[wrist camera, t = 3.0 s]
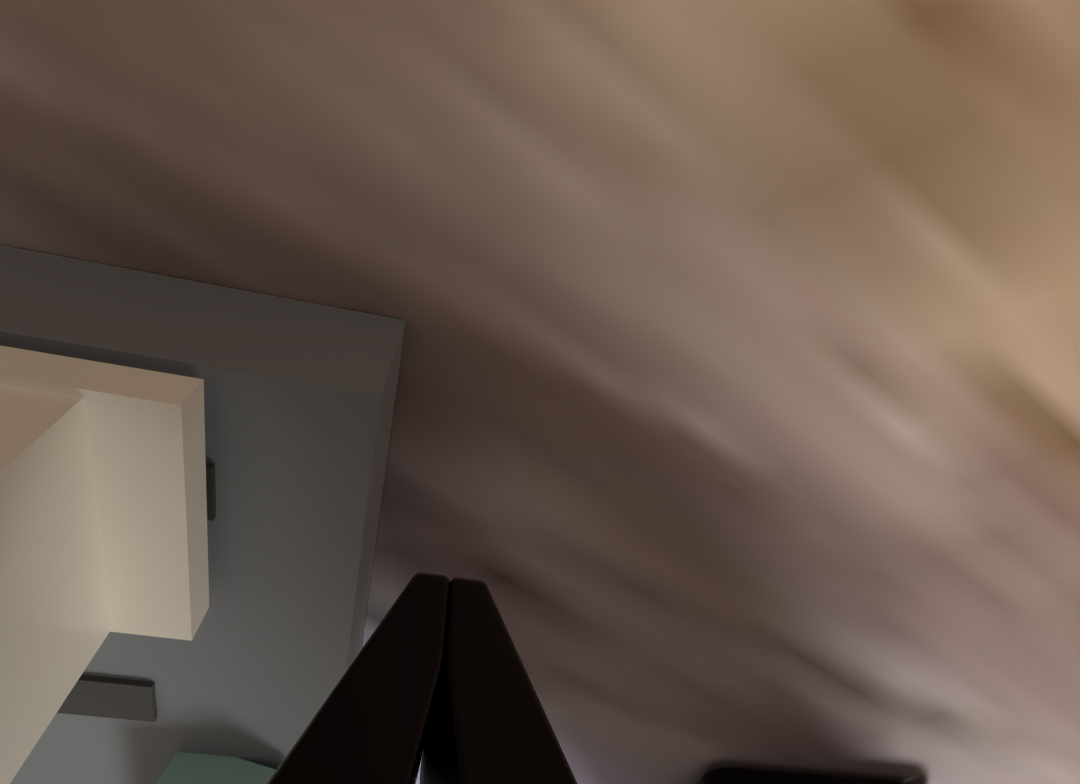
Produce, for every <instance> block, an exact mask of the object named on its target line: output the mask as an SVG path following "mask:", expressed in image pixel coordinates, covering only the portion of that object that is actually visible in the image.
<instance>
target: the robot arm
mask: <svg viewBox="0 0 1080 784" xmlns="http://www.w3.org/2000/svg"><path fill="white" fill-rule="evenodd" d="M421 757H422V760H421ZM420 762H421V770H420V784H577V782H576V780H575V778H574V775H573V773H572V771H571V769H570V767H569V764H568V762H567V760H566V758H565V756H564V753H563V751H562V749H561V747H560V745H559V743H558V740H557V738H556V736H555V734H554V732H553V729H552V727H551V725H550V723H549V721H548V718H547V716H546V714H545V712H544V710H543V707H542V705H541V703H540V701H539V699H538V697H537V694H536V692H535V690H534V688H533V686H532V683H531V681H530V679H529V677H528V675H527V672H526V670H525V668H524V666H523V664H522V661H521V659H520V657H519V655H518V653H517V651H516V648H515V646H514V644H513V642H512V640H511V637H510V635H509V633H508V631H507V629H506V626H505V624H504V622H503V620H502V618H501V615H500V613H499V611H498V609H497V607H496V605H495V602H494V600H493V598H492V596H491V594H490V591H489V589H488V587H487V585H486V584H485V583H484V582H483V581H481V580H474V579H467V578H460V577H455V578H453V579H452V580H451V581H450V580H449V578H448V577H447V576H445V575H437V574H430V573H422V572H419V573H417V574H416V575H415V576H414V577H413V578H412V579H411V581H410V582H409V583H408V585H407V586H406V588H405V589H404V590H403V592H402V593H401V595H400V596H399V598H398V599H397V600H396V602H395V603H394V605H393V606H392V607H391V609H390V610H389V612H388V613H387V614H386V616H385V617H384V619H383V620H382V622H381V623H380V624H379V626H378V627H377V629H376V630H375V631H374V633H373V634H372V636H371V637H370V638H369V640H368V641H367V643H366V644H365V646H364V647H363V648H362V650H361V651H360V653H359V654H358V655H357V657H356V658H355V660H354V661H353V662H352V664H351V665H350V667H349V668H348V670H347V671H346V672H345V674H344V675H343V677H342V678H341V679H340V681H339V682H338V684H337V685H336V686H335V688H334V689H333V691H332V692H331V694H330V695H329V696H328V698H327V699H326V701H325V702H324V703H323V705H322V706H321V708H320V709H319V710H318V712H317V713H316V715H315V716H314V718H313V719H312V720H311V722H310V723H309V725H308V726H307V727H306V729H305V730H304V732H303V733H302V734H301V736H300V737H299V739H298V740H297V741H296V743H295V744H294V746H293V747H292V749H291V750H290V751H289V753H288V754H287V756H286V757H285V758H284V760H283V761H282V763H281V764H280V765H279V767H278V768H277V770H276V771H275V773H274V774H273V775H272V777H271V778H270V780H269V781H268V782H267V784H415V783H416V779H417V774H418V770H419V766H420ZM699 784H893V783H882V782H872V781H862V780H851V779H841V778H830V777H820V776H810V775H799V774H789V773H778V772H768V771H758V770H747V769H737V768H718V769H715V770H712V771H710V772H708V773H707V774H706V775H705V776H704V777H703V778H702V780H701V782H700V783H699Z"/></svg>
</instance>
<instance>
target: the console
mask: <svg viewBox="0 0 1080 784" xmlns="http://www.w3.org/2000/svg"><path fill="white" fill-rule="evenodd" d="M405 326H406V320H401V319H396V318H391V317H385V316H380V315H375V314H369V313H364V312H358V311H353V310H348V309H342V308H337V307H332V306H326V305H321V304H316V303H310V302H305V301H299V300H294V299H289V298H283V297H278V296H273V295H267V294H262V293H256V292H251V291H246V290H240V289H235V288H230V287H224V286H219V285H213V284H208V283H203V282H197V281H192V280H187V279H181V278H176V277H170V276H165V275H160V274H154V273H149V272H144V271H138V270H133V269H127V268H122V267H117V266H111V265H106V264H101V263H95V262H90V261H84V260H79V259H74V258H68V257H63V256H58V255H52V254H47V253H41V252H36V251H31V250H25V249H20V248H15V247H9V246H4V245H0V345H1V346H7V347H13V348H19V349H25V350H31V351H37V352H43V353H49V354H55V355H61V356H67V357H73V358H79V359H85V360H91V361H97V362H103V363H109V364H115V365H121V366H127V367H133V368H139V369H145V370H151V371H157V372H163V373H169V374H175V375H181V376H187V377H193V378H199V379H204V416H205V456H206V496H207V536H208V576H209V608H208V610H207V612H206V614H205V616H204V618H203V620H202V622H201V624H200V626H199V628H198V630H197V632H196V634H195V636H194V637H193V639H192V641H189V640H180V639H171V638H162V637H153V636H145V635H136V634H127V633H118V632H109V634H108V635H107V637H106V638H105V640H104V641H103V643H102V644H101V646H100V647H99V649H98V650H97V652H96V653H95V655H94V656H93V658H92V660H91V661H90V663H89V664H88V666H87V667H86V669H85V670H84V672H83V673H82V675H81V676H80V678H79V679H78V681H77V682H76V684H75V685H74V687H73V689H72V690H71V692H70V693H69V695H68V696H67V698H66V699H65V701H64V702H63V704H62V705H61V707H60V708H59V710H58V711H57V713H56V714H55V716H54V717H53V719H52V721H51V722H50V724H49V725H48V727H47V728H46V730H45V731H44V733H43V734H42V736H41V737H40V739H39V740H38V742H37V743H36V745H35V746H34V748H33V749H32V751H31V753H30V754H29V756H28V757H27V759H26V760H25V762H24V763H23V765H22V766H21V768H20V769H19V771H18V772H17V774H16V775H15V777H14V778H13V780H12V781H11V783H10V784H267V782H268V781H269V780H270V778H271V777H272V775H273V774H274V773H275V771H276V770H277V768H278V767H279V765H280V764H281V763H282V761H283V760H284V758H285V757H286V756H287V754H288V753H289V751H290V750H291V749H292V747H293V746H294V744H295V743H296V741H297V740H298V739H299V737H300V736H301V734H302V733H303V732H304V730H305V729H306V727H307V726H308V725H309V723H310V722H311V720H312V719H313V718H314V716H315V715H316V713H317V712H318V710H319V709H320V708H321V706H322V705H323V703H324V702H325V701H326V699H327V698H328V696H329V695H330V694H331V692H332V691H333V689H334V688H335V686H336V685H337V684H338V682H339V681H340V679H341V678H342V677H343V675H344V674H345V672H346V671H347V670H348V668H349V667H350V665H351V664H352V662H353V661H354V660H355V658H356V657H357V655H358V654H359V653H360V651H361V649H362V642H363V635H364V627H365V620H366V612H367V605H368V598H369V590H370V583H371V576H372V568H373V561H374V554H375V546H376V539H377V532H378V524H379V517H380V510H381V502H382V495H383V487H384V480H385V473H386V465H387V458H388V451H389V443H390V436H391V429H392V421H393V414H394V407H395V399H396V392H397V384H398V377H399V370H400V362H401V355H402V348H403V340H404V333H405Z"/></svg>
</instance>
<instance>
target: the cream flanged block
mask: <svg viewBox="0 0 1080 784" xmlns="http://www.w3.org/2000/svg"><path fill="white" fill-rule="evenodd" d="M208 608H209V576H208V536H207V496H206V456H205V416H204V379H199V378H193V377H187V376H181V375H175V374H169V373H163V372H157V371H151V370H145V369H139V368H133V367H127V366H121V365H115V364H109V363H103V362H97V361H91V360H85V359H79V358H73V357H67V356H61V355H55V354H49V353H43V352H37V351H31V350H25V349H19V348H13V347H7V346H1V345H0V784H10V783H11V781H12V780H13V778H14V777H15V775H16V774H17V772H18V771H19V769H20V768H21V766H22V765H23V763H24V762H25V760H26V759H27V757H28V756H29V754H30V753H31V751H32V749H33V748H34V746H35V745H36V743H37V742H38V740H39V739H40V737H41V736H42V734H43V733H44V731H45V730H46V728H47V727H48V725H49V724H50V722H51V721H52V719H53V717H54V716H55V714H56V713H57V711H58V710H59V708H60V707H61V705H62V704H63V702H64V701H65V699H66V698H67V696H68V695H69V693H70V692H71V690H72V689H73V687H74V685H75V684H76V682H77V681H78V679H79V678H80V676H81V675H82V673H83V672H84V670H85V669H86V667H87V666H88V664H89V663H90V661H91V660H92V658H93V656H94V655H95V653H96V652H97V650H98V649H99V647H100V646H101V644H102V643H103V641H104V640H105V638H106V637H107V635H108V634H109V632H118V633H127V634H136V635H145V636H153V637H162V638H171V639H180V640H189V641H192V639H193V637H194V636H195V634H196V632H197V630H198V628H199V626H200V624H201V622H202V620H203V618H204V616H205V614H206V612H207V610H208Z"/></svg>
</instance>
